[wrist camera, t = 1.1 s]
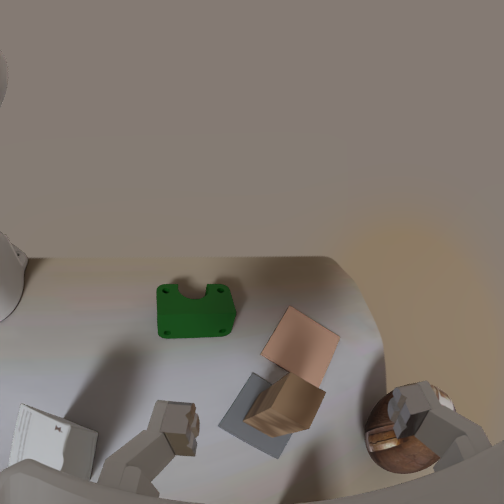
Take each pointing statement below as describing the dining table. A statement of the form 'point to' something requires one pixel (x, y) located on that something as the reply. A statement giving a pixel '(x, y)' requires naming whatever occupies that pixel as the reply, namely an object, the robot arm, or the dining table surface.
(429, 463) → the brown metallic ball
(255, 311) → the dining table surface
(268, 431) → the walnut block
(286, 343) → the coaster
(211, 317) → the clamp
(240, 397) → the gray tile
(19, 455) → the skincare box
